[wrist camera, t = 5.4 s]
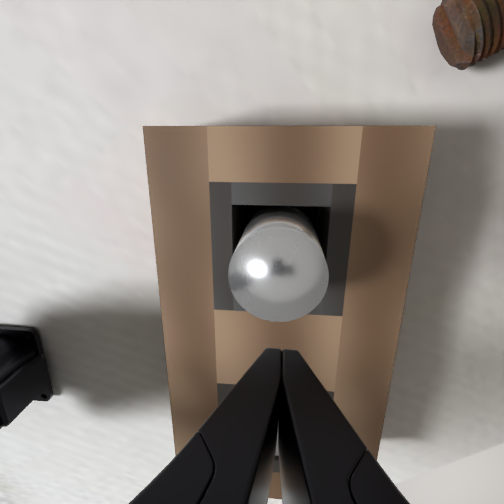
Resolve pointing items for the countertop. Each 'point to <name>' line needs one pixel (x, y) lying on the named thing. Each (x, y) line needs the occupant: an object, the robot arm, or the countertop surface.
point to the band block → (331, 240)
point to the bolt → (469, 30)
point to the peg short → (278, 265)
